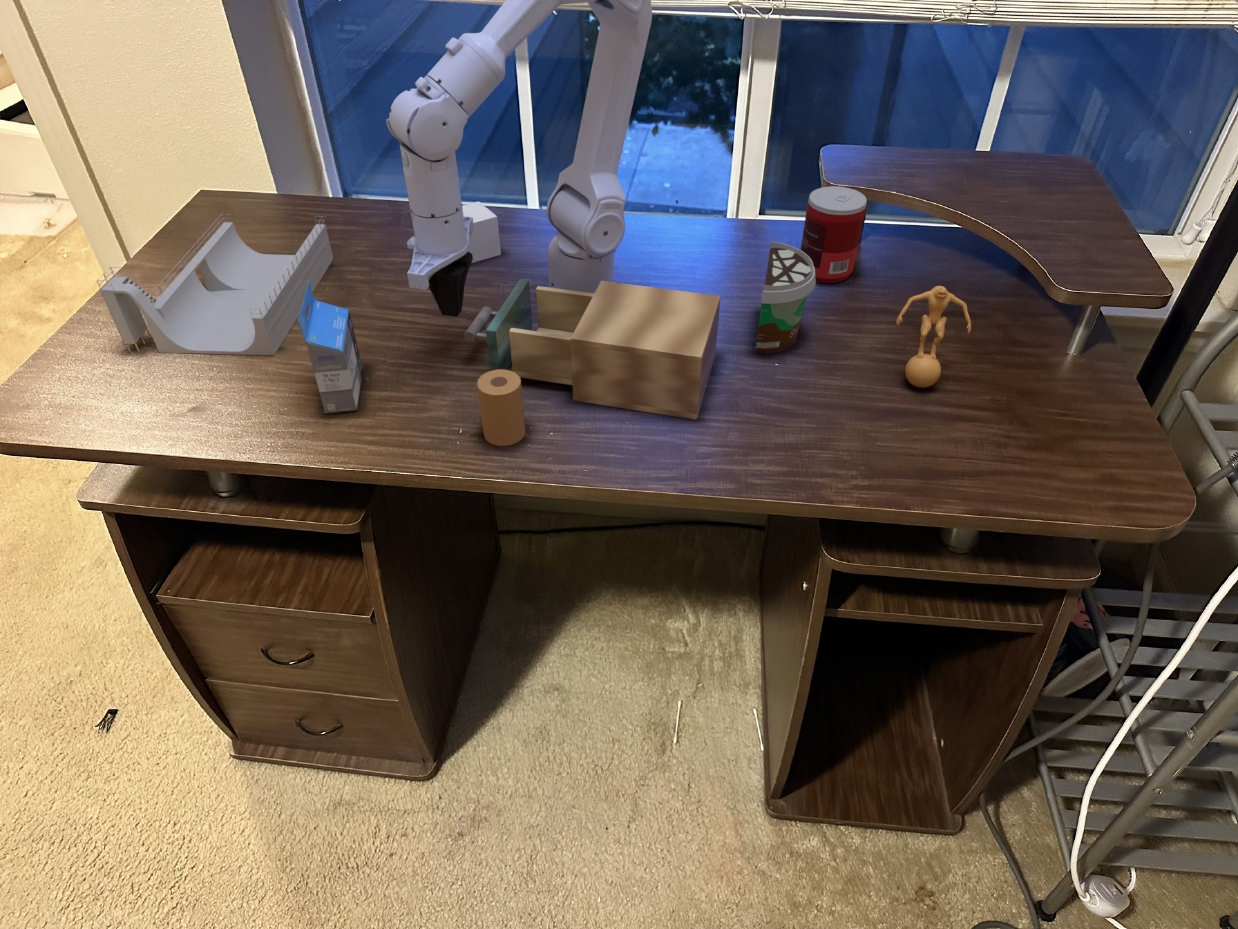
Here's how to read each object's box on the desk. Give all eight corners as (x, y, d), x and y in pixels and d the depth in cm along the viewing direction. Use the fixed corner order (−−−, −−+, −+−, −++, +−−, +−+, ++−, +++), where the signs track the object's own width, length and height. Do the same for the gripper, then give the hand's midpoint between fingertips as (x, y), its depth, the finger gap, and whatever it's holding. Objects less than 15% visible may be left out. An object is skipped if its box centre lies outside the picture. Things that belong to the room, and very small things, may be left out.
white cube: (501, 254, 126) (497, 216, 122) (464, 265, 123) (459, 226, 119) (482, 238, 130) (478, 201, 126) (446, 248, 127) (441, 210, 123)
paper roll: (477, 428, 95) (470, 377, 91) (514, 415, 97) (509, 364, 93) (494, 451, 93) (488, 399, 88) (532, 437, 94) (528, 386, 90)
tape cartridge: (359, 412, 98) (335, 319, 89) (323, 415, 97) (297, 322, 89) (364, 367, 104) (342, 277, 96) (331, 370, 104) (307, 279, 96)
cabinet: (572, 400, 99) (570, 338, 94) (601, 340, 109) (601, 280, 103) (696, 420, 97) (701, 357, 91) (715, 356, 106) (720, 295, 100)
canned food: (860, 266, 123) (875, 193, 116) (839, 290, 118) (854, 215, 111) (810, 252, 126) (822, 181, 119) (788, 275, 121) (799, 201, 114)
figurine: (883, 389, 101) (906, 301, 93) (882, 361, 106) (904, 274, 98) (956, 398, 100) (986, 309, 92) (952, 369, 104) (979, 281, 96)
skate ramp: (274, 355, 106) (251, 284, 99) (127, 351, 107) (95, 280, 100) (333, 258, 125) (317, 193, 118) (208, 255, 125) (185, 190, 119)
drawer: (457, 373, 102) (450, 324, 97) (492, 321, 110) (487, 274, 106) (601, 395, 99) (600, 346, 94) (625, 340, 107) (626, 292, 103)
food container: (804, 365, 105) (816, 293, 98) (753, 359, 106) (763, 287, 99) (807, 313, 114) (819, 244, 107) (761, 308, 115) (770, 239, 108)
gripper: (429, 177, 101) (444, 279, 110) (373, 231, 90) (395, 340, 99) (485, 183, 99) (496, 286, 108) (435, 239, 89) (452, 349, 98)
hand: (451, 313), depth 104 cm, fingers closed
